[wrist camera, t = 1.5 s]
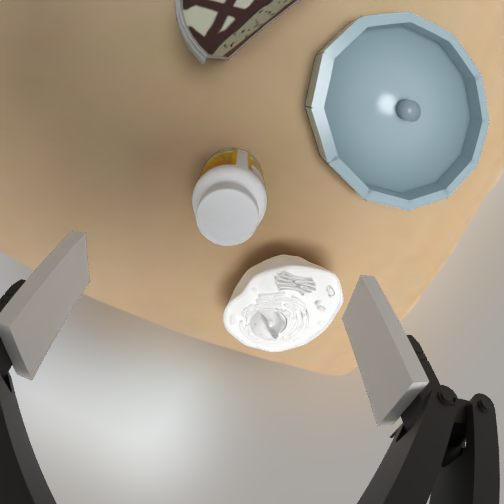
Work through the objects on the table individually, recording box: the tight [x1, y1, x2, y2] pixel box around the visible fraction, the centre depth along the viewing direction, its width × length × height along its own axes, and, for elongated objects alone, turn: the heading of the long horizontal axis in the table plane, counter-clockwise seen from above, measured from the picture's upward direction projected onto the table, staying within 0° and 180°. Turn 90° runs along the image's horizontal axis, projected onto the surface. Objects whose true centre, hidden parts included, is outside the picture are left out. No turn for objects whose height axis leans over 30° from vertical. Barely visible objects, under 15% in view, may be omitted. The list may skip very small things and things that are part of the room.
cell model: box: [223, 255, 343, 352], centre depth 31 cm, size 10×12×7 cm
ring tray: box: [305, 12, 489, 211], centre depth 24 cm, size 18×18×3 cm
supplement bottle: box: [192, 149, 267, 246], centre depth 24 cm, size 5×5×10 cm
